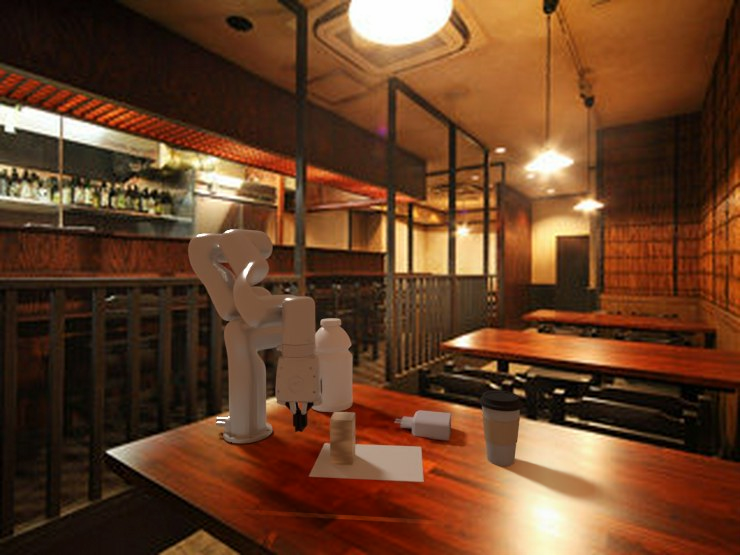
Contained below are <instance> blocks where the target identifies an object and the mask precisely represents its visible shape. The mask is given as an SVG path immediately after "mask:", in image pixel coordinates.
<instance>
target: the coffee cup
mask: <svg viewBox="0 0 740 555" xmlns="http://www.w3.org/2000/svg"><path fill="white" fill-rule="evenodd" d="M478 402H479V405H481V409H482V413H481V414H482V415H481V417H482V426H483V434H484V440H485V448H486V457H487V460H488V461H489V463H491V464H494V465H497V466H499V467H509V466H512V465H513V464H514V463H515V458H516V449H517V443H518V438H519V437H518V436H519V429H520V420H521V419H520V418H521V417H520V413H521V409H522V408H523V403H522V400H520V397H519V396H518V394H516V393H514V392H510V391H507V390H500V389H499V390H497V389H495V390H494V389H493V390H487V391H484V392H483V393H482V396H481V397H480V398H479V400H478Z"/></svg>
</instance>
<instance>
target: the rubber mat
mask: <svg viewBox="0 0 740 555" xmlns="http://www.w3.org/2000/svg"><path fill="white" fill-rule="evenodd" d="M422 452H423V451H422V446H414V445H413V446H412V445H411V446H410V445H390V444H389V445H387V444H386V445H385V444H384V445H383V444H361V443H357V444H356V443H355V458H354V461H353V465H336V464H330V442H329V443H328V442H325V443H324V444H323V446H322V448H321V450H320V452H319V454H318V456H317V458H316V460H315V462H314V463H313V464H314V465H313V467H312V469H311V471H310V473H309V475H308V477H310V478H311V477H312V478H331V479H332V478H333V479H334V478H335V479H350V480H352V479H354V480H374V481H375V480H376V481H395V482H413V483H414V482H415V483H418V482H419V483H424V481H425V480H424V468H423V453H422Z"/></svg>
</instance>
